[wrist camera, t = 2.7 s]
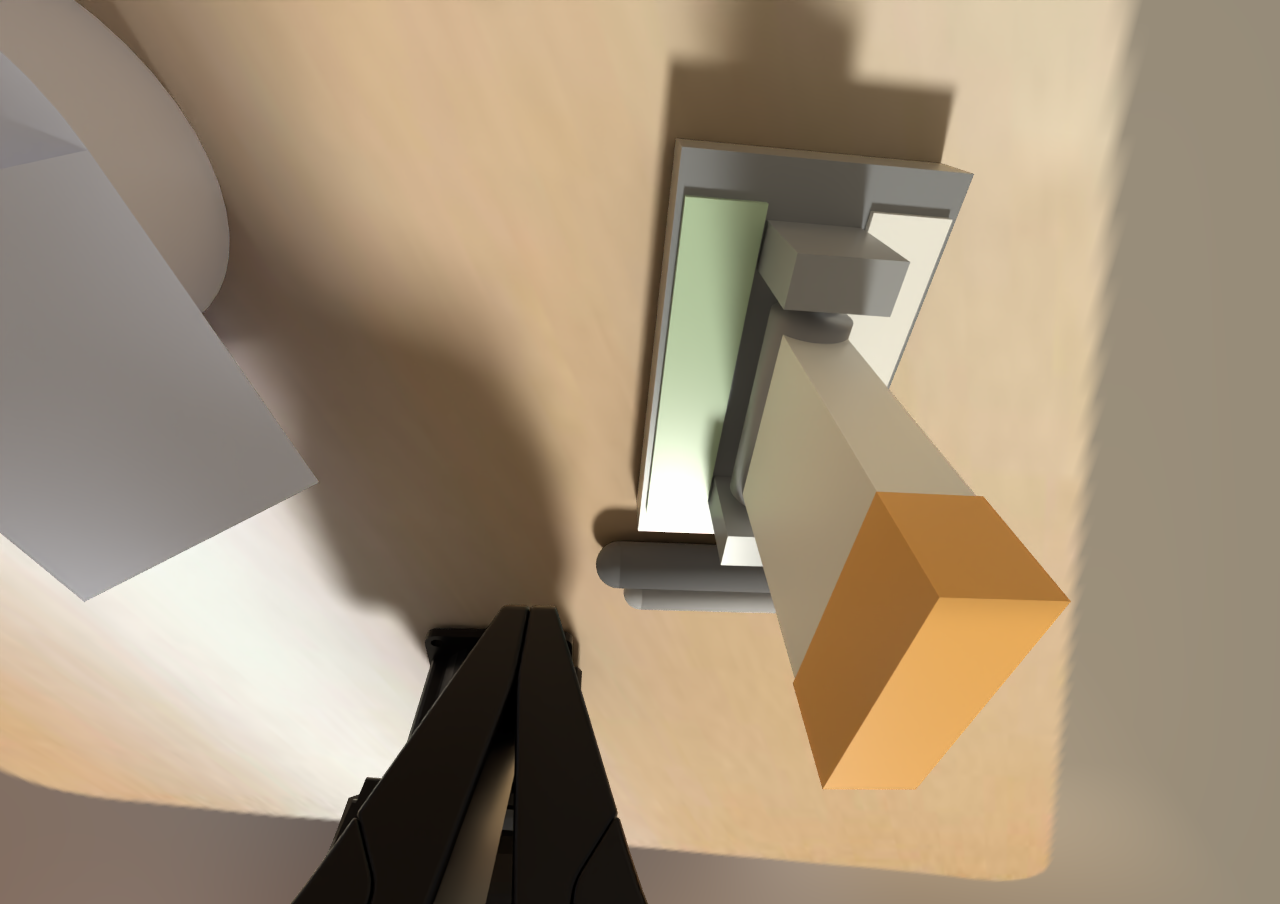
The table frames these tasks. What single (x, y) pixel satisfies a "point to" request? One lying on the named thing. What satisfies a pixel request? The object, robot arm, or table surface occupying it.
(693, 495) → the panel
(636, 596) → the grey double capsule
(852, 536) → the lever
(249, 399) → the wedge on round base
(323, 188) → the table surface
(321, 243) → the table surface
